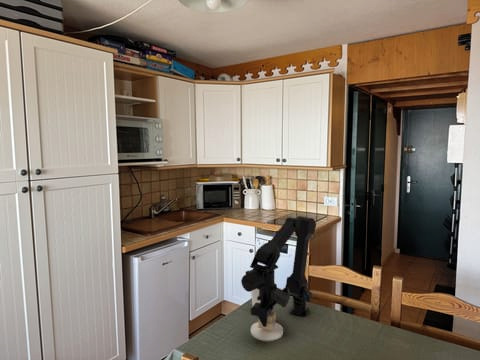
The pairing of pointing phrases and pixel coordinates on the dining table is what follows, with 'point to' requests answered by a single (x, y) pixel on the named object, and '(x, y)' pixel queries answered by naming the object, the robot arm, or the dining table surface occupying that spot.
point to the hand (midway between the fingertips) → (266, 322)
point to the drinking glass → (255, 296)
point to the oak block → (268, 321)
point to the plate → (267, 332)
